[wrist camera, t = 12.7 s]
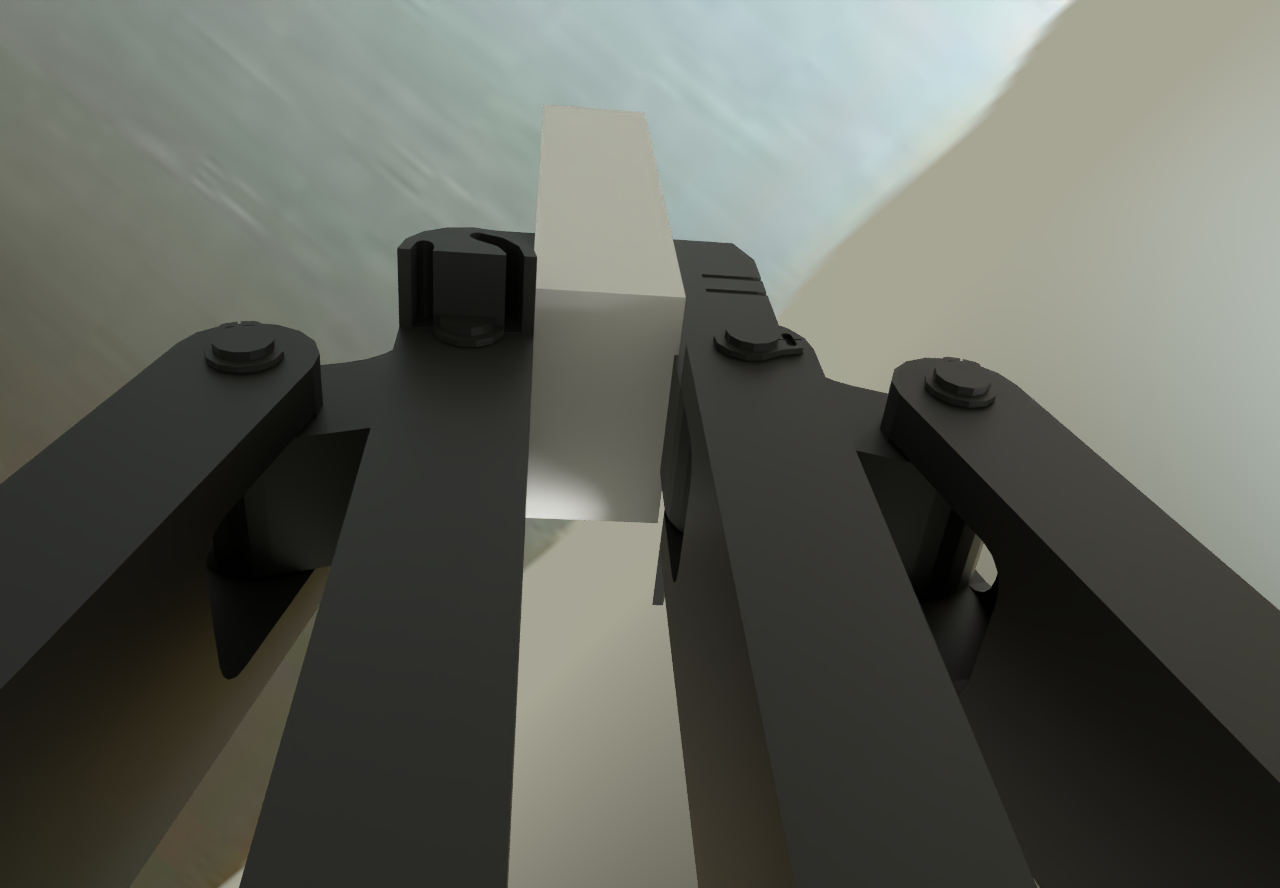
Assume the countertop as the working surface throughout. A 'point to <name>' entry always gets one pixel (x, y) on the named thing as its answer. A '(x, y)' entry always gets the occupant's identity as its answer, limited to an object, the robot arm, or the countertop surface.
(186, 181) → the countertop surface
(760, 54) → the countertop surface
